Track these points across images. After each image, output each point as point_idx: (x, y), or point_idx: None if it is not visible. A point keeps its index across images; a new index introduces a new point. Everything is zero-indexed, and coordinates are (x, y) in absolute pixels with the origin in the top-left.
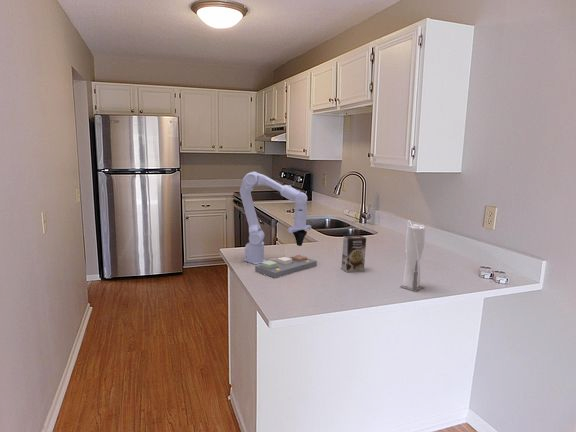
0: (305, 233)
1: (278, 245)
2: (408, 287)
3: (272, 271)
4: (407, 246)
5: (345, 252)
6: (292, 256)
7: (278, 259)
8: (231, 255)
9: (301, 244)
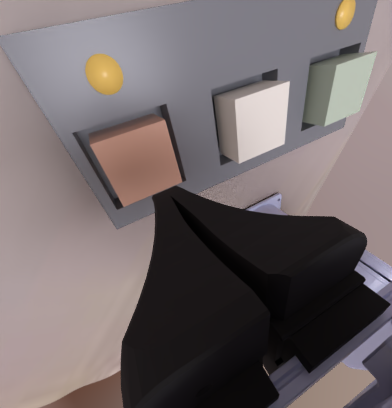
0: (183, 305)
1: (102, 375)
2: None
3: (374, 1)
4: None
5: None
6: (177, 183)
7: (282, 134)
8: None
9: (163, 194)
